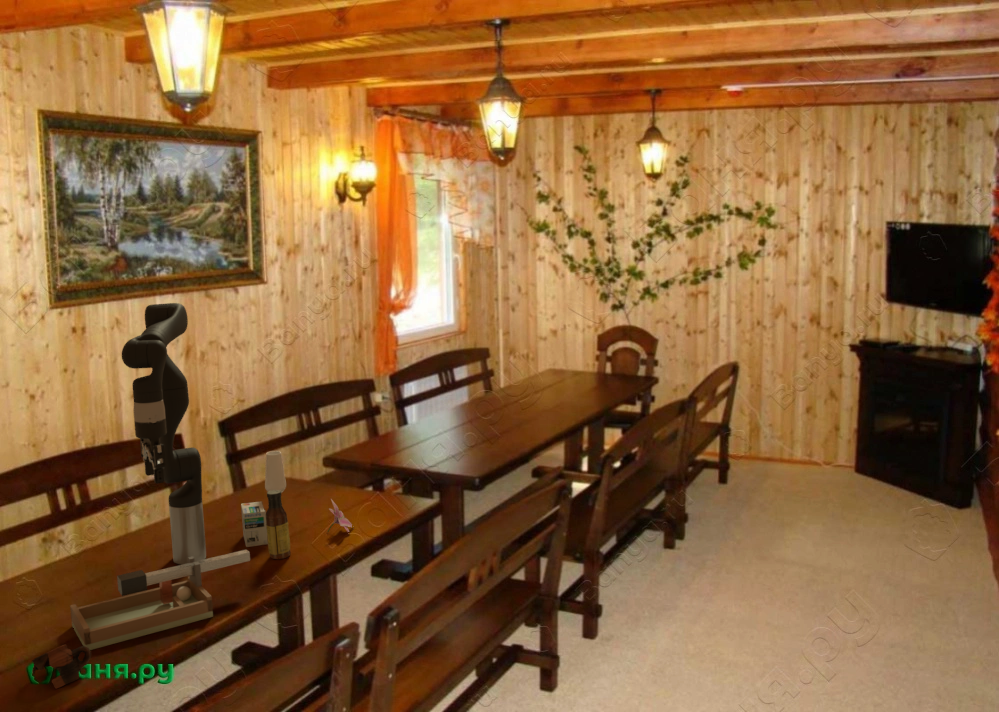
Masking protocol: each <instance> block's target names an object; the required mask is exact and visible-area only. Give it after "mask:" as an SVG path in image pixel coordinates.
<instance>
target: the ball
mask: <svg viewBox="0 0 999 712" xmlns="http://www.w3.org/2000/svg"><path fill="white" fill-rule="evenodd" d="M176 595H177V596H178V598H179V599H180V600H182V601H185V600H187V599H189V598H190V596H191V590H190V589H189V588H188V587H186V586H183V587H180V588H179V589H178V590H177V594H176Z"/></svg>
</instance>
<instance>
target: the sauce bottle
mask: <svg viewBox="0 0 999 712" xmlns="http://www.w3.org/2000/svg"><path fill="white" fill-rule="evenodd" d="M266 497H267V503H268V504H267V505H268V508H267V509H266V527H267V541H268V544H267V546H268V547H267V548H268V553H269V556H270V558H271V559H272V560H273V559H274V560H283V559H286V558H288V557H289V556H290V555H291V539H290V530H289V521H288V514H287V512H286V510H285V509H284V506H283V504H282V493H281V491H280V490H272V491H269V492H268V491H266Z"/></svg>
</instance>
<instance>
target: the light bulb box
mask: <svg viewBox="0 0 999 712" xmlns="http://www.w3.org/2000/svg"><path fill="white" fill-rule="evenodd" d="M240 507H241V508H240V509H241V521H242V524H241V525H242V532H243V533H242V534H243V539H244V544H245V547H246V548H249V547H257V546H264V545H265V546H266V545H268V537H267V527H266V512H267V510H266V509H265V507H264V504H263V501H255V502H254V501H253V502H244V503H241V504H240Z"/></svg>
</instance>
